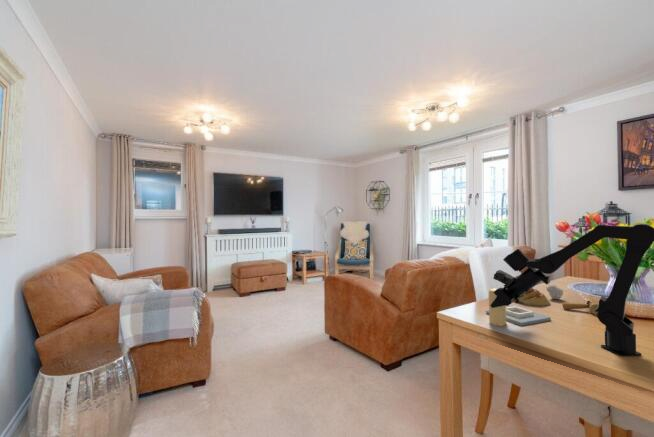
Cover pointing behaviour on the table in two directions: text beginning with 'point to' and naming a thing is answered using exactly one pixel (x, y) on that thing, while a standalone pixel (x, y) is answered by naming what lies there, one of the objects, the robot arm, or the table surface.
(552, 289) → the frog figurine
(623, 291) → the robot arm
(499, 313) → the pillar
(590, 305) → the kendama
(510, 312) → the baseplate
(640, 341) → the table surface
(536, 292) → the pastry
